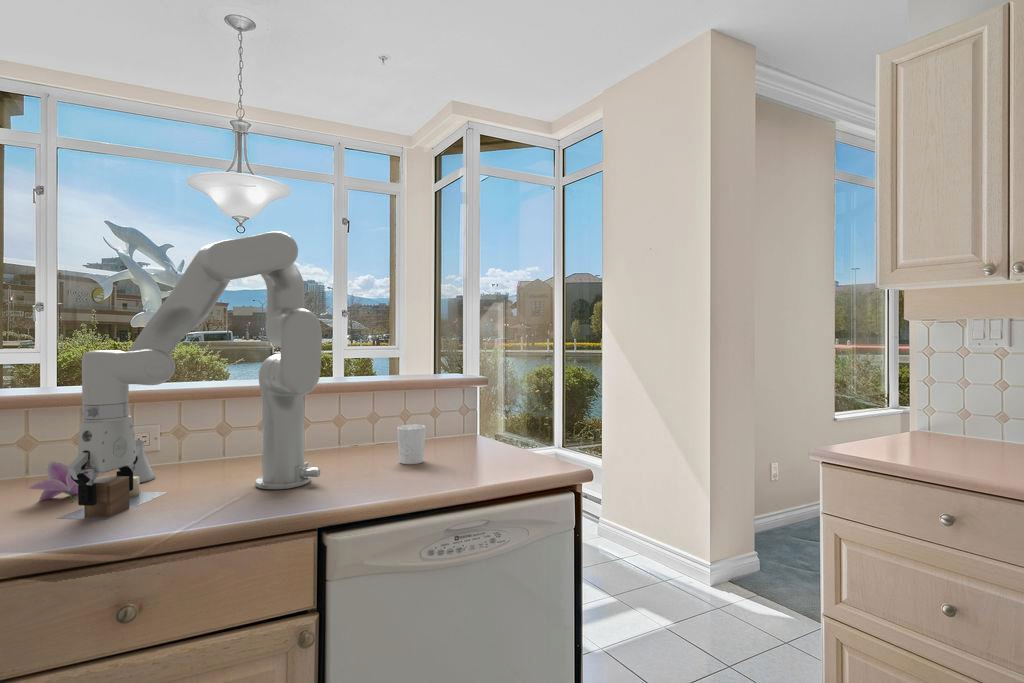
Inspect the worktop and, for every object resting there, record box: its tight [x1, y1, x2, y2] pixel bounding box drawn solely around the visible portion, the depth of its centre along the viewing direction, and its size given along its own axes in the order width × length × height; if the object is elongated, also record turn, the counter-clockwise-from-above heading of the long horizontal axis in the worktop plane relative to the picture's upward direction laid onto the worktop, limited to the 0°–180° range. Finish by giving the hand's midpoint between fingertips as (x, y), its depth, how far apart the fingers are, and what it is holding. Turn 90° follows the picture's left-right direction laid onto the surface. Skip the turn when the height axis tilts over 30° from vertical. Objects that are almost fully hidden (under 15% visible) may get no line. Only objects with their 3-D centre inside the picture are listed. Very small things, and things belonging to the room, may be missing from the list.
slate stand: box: [56, 476, 169, 521], centre depth 118 cm, size 10×18×5 cm, turn 177°
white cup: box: [397, 424, 426, 465], centre depth 160 cm, size 8×8×10 cm
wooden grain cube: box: [83, 475, 129, 518], centre depth 112 cm, size 5×5×7 cm
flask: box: [133, 438, 156, 484], centre depth 139 cm, size 7×7×10 cm
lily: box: [28, 461, 104, 504], centre depth 121 cm, size 12×12×10 cm
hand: (107, 497), depth 112 cm, fingers open, 9 cm apart
